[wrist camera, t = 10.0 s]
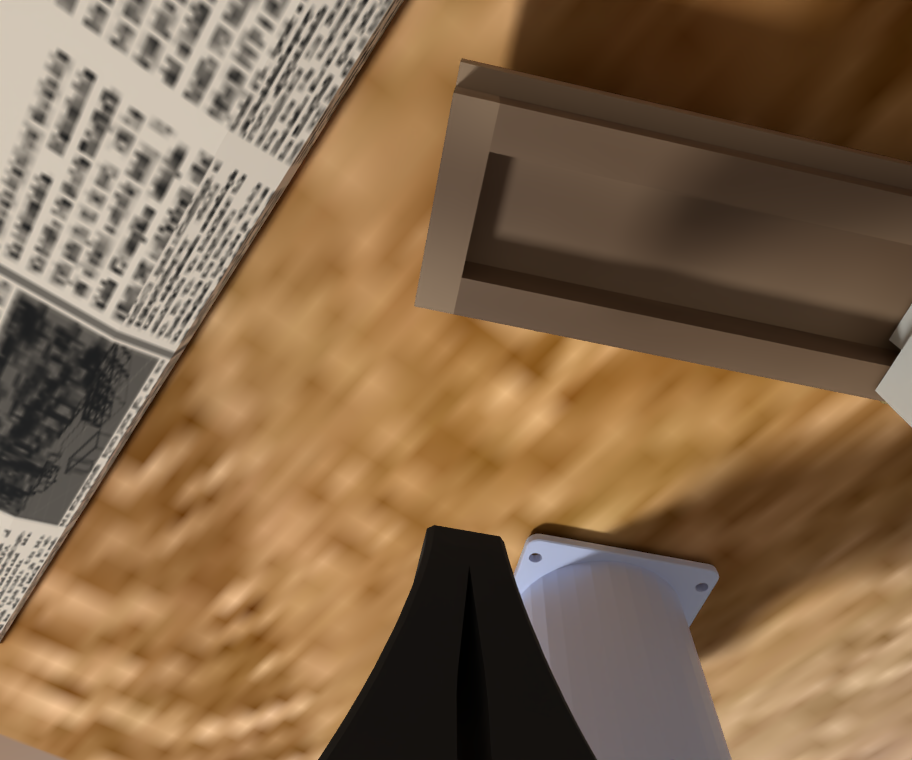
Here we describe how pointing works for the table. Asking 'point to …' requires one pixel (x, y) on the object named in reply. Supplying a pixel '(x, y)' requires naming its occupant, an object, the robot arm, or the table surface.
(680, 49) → the table surface
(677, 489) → the table surface
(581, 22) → the table surface
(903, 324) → the block
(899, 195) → the beam
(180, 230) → the newspaper
